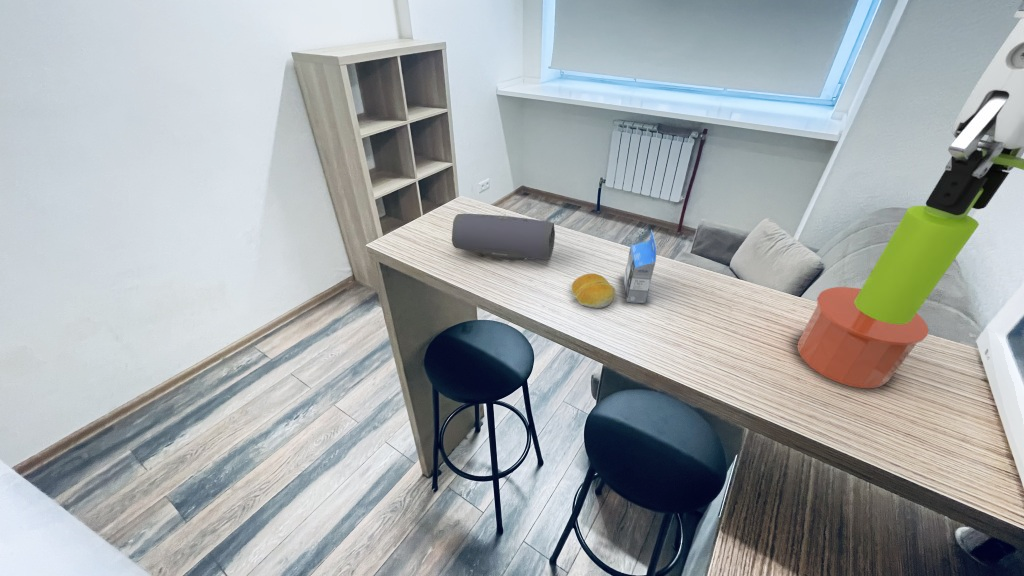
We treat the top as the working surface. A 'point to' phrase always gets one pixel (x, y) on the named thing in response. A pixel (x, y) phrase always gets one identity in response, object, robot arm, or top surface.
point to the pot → (848, 354)
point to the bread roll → (593, 291)
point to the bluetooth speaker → (503, 236)
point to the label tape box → (640, 270)
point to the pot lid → (867, 319)
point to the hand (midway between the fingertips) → (954, 205)
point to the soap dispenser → (918, 258)
